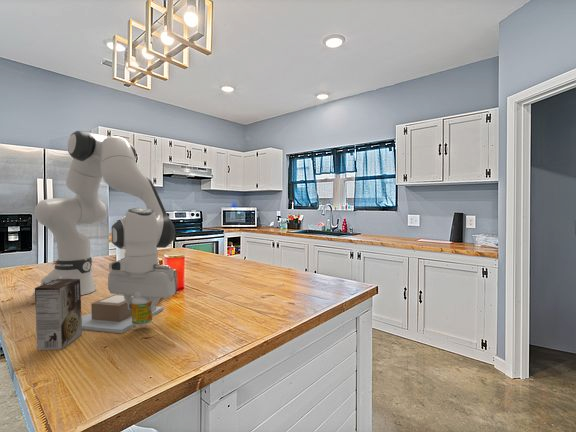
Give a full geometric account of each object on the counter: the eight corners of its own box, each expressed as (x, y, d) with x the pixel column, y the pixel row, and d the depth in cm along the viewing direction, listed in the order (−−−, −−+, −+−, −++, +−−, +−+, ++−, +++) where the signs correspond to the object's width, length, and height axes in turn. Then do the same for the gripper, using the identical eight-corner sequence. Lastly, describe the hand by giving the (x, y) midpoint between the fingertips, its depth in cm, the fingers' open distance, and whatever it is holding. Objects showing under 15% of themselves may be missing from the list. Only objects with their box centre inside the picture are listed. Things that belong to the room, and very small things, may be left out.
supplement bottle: (136, 327, 88) (136, 294, 88) (128, 322, 92) (128, 290, 91) (155, 322, 92) (155, 290, 92) (147, 317, 96) (146, 286, 95)
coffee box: (58, 335, 87) (57, 278, 87) (82, 334, 88) (81, 278, 87) (35, 350, 78) (33, 287, 78) (62, 349, 79) (60, 286, 78)
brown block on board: (63, 327, 93) (63, 306, 93) (114, 305, 112) (113, 288, 112) (122, 333, 89) (121, 311, 89) (163, 309, 108) (163, 292, 108)
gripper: (179, 263, 92) (179, 309, 93) (119, 259, 96) (120, 303, 97) (167, 268, 86) (167, 317, 87) (103, 263, 90) (104, 310, 91)
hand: (142, 310), depth 92 cm, fingers closed on supplement bottle, 5 cm apart
